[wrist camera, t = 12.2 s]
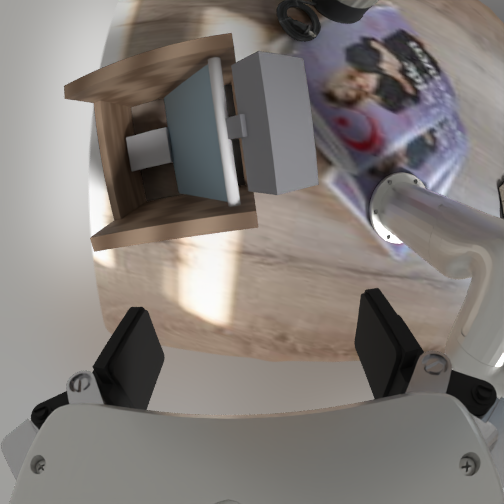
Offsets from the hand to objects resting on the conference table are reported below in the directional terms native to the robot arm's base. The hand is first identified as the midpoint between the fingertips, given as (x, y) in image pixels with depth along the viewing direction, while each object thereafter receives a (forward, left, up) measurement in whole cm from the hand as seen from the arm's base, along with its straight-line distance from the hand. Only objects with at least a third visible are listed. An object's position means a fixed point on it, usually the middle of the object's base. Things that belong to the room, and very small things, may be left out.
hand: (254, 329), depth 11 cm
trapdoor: (-1, -9, -23) cm, 25 cm away
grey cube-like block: (+10, -9, -30) cm, 32 cm away
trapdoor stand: (+8, -9, -32) cm, 34 cm away
